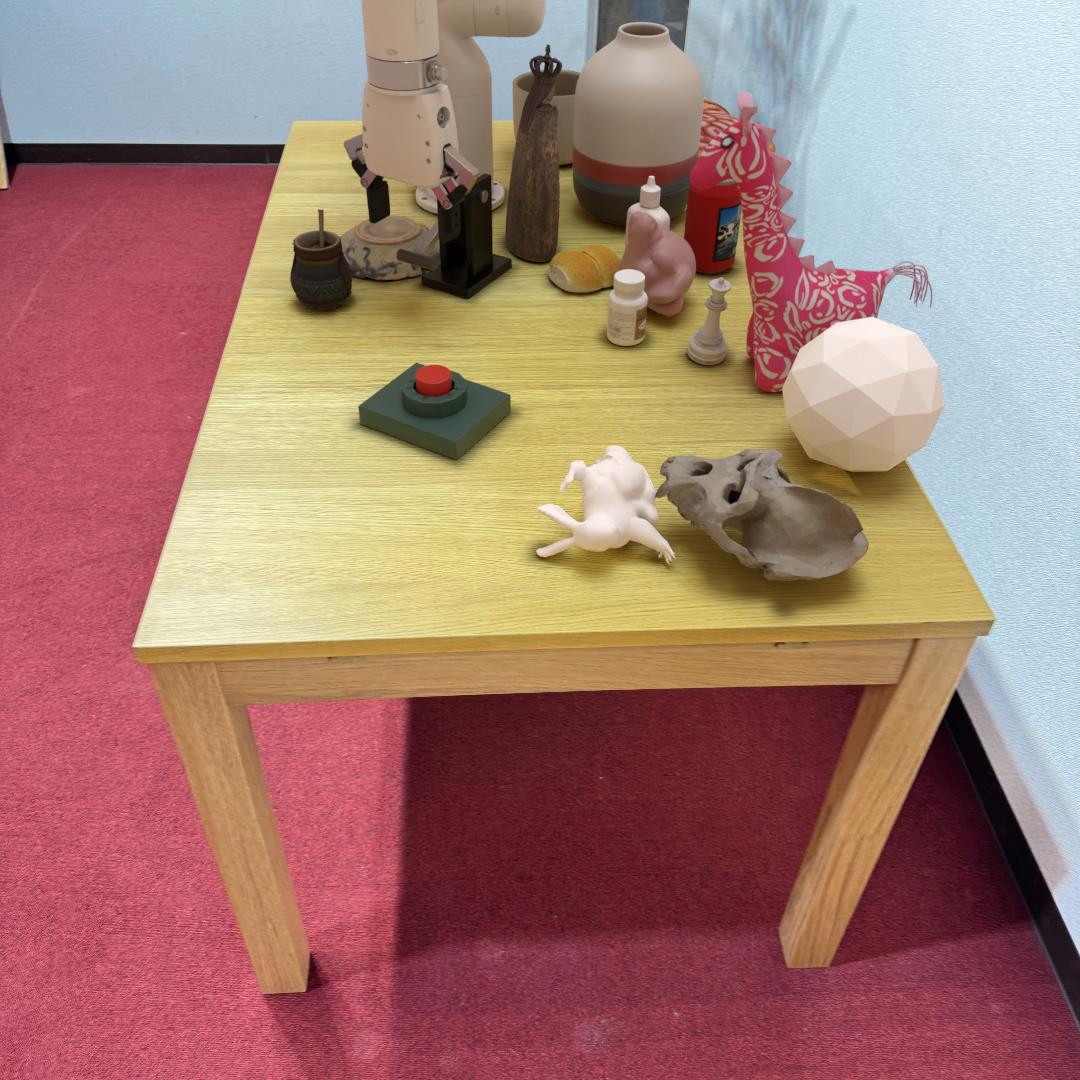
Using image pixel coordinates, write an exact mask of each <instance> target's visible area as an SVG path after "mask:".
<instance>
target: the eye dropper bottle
mask: <svg viewBox="0 0 1080 1080" xmlns="http://www.w3.org/2000/svg"><path fill="white" fill-rule="evenodd" d="M660 192H661V188H660V187H659V186H657V185H656V184H655V177H654V176H649V178H648V181H647V184H646V185H643V186H642V187H641V192H640V203H636V204H634V205H632V206H631V207H630V208H629V209H628V212H627V223H626V226H625V240H624V251H625V250H626V247H627V245H628V243H629V242H628V226H629V221H630V217H631V216H632V214H633V213H635V212H638V211H639V212H643V213H648V214H649V215H651V216H652V217H653V218H654V219H655V220H656V222H657V224H658V226H657V227H658V228H659V229H666V230H670V231H671V229H670V228H671V219H670V217H669V215H668V214H667V212H666V211H665V210H664V209H663V208H662V207H660V206H659V204H660Z"/></svg>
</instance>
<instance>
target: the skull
mask: <svg viewBox="0 0 1080 1080" xmlns="http://www.w3.org/2000/svg"><path fill="white" fill-rule="evenodd" d="M783 456H784V455H783V453H782V452H781V451H779V450H776V449H766V450H762V449H757V448H746V449H743V450H741V451H740V452H739V453H735V454H734V455H732V456H728V457H721V458H705V457H702V456H697V455H683V454H680V455H673V456H669V457H668V458H667V459H666V460H665V461H664V462H663V463H662V464H661V465H660V470H659V471H660V472H659V474H660V475H661V476H663V477H665V481H664V482H662V483H661V484H660V486H659V487H658V489H657V490H656V495H655V497H656V499H661V498H663V497H665V496H666V497H667V501H668V502H670V503H671V504H672V505H673V506H674V507H676V508H677V509H676V510H677V513H678V514H679V516H680V517H682V518H683V520H684V521H688V522H690V526H692V527H693V528H695V529H699V528H701V527H702V528H703V529H704V530H705V531H706V533H707V534H708V535H709V536H710V537H711V539H712V540H713V541H714V542H715V543H716V544H717V545H718V546H719V547H720V549H721V550H723V551H724V552H726V553H727V554H733V555H735V556H736V557H737V560H738V561H739V563H740V564H742V565H743V566H745V567H746V568H750V569H761V570H763V575H762V576H763V577H764V578H765V579H766V580H768V582H769V581H781V582H782V581H784V582H785V581H786V582H790V581H791V582H793V581H797V580H802V581H803V580H804V581H814V582H815V581H818V580H819V581H820V580H822V579H826V578H830V577H833V576H836V575H838V574H840V573H843V572H844V571H846V570H848V569H849V568H851V567H852V566H854V565H855V564H856V563H857V562H858V561H859V560H861V559H862V558H863V557H864V556H865V555H866V554H867V552H868V551H869V545H870V543H869V541H868V538H867V536H866V534H865V533H864V532H863V531H864V530H865V529H864V528H863V526H862V524H861V521H860V520H859V517H858V516H857V514H856V512H855V510H854V509H853V507H851V506H850V505H848V504H847V503H846V502H842V501H840V500H839V499H837V498H836V497H834V495H832V494H830V493H829V492H826V491H823V490H819V489H817V488H815V487H809V488H808V487H805V486H803V485H800V484H795V483H793V482H792V480H791V479H790V476H789V475H788V473H787V472H786V471H785V470H784V469H782V468H781V467H780V466H779V464H780V462H781V460H782V459H783ZM725 528H727V529H734V530H736V531H738V532H739V533H740V534H742V535H741V544H739V543H737V542H736V541H734V540H733V539H731V538H730V536H728V535H727V533H726V532H725V531H724V529H725Z"/></svg>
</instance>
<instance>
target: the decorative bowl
mask: <svg viewBox="0 0 1080 1080" xmlns="http://www.w3.org/2000/svg"><path fill="white" fill-rule="evenodd" d="M430 229H431V228H430V227H429V226H427V225H425V224H423V223H421V222H418V221H416V220H415V219H413V218H410V217H407V216H404V215H393V214H390V216H388V217H386V218H384V219H383V220H381V221H379V222H377V223H375V224H374V223H370V221H369V218H366V219H365V220H362V221H361V222H359V223H358V224H357V225H355V226H353V227H352V228H349V229H348V230H346V232H344V234H342V236H341V237H340V238H341V243H342V248H343V250H342V251H343V254H344V256H345V258H346V261H347V262H348V264H349V267H350V270H351V273H352V277H354V278H360V279H365V278H366V277H367V278H369V279H370V280H372V279H373V280H376V281H388V280H389V281H390V280H391V281H392V280H393V281H394V280H395V281H398V280H401V279H405V278H407V277H409V278H413V277H418V276H422V275H423V272H422V267H419V266H415V265H412V264H409V263H405V262H402V261H399V260H398V259H397V251H398V250H399V249H400V248H403V249H406V250H409V251H413V252H415V251H416V249H417V248H418V247H419V245H420V244H421V242H422V241H423V239H424V238H425V236H426V235H427V233H428V232H429V231H430ZM428 256H430V257H433V258H436V259H437V260H438V264H440V247H439V240H438V241H437V243H436V244H435V246H434V247H433V249H432V250H431V252H430V253H429V254H428Z"/></svg>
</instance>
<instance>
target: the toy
mask: <svg viewBox="0 0 1080 1080" xmlns="http://www.w3.org/2000/svg"><path fill="white" fill-rule="evenodd" d="M736 99H737V107H738V110H739V115H738V119H739V122H737V123H734V124H732V125H731V126H729V127H728V128H726V129H725V130H724V131H722V132H721V133H720V134H719V135H718V136H716V137H715V138H714V139H713V140H712V141H711V142H710V143H709V144H708V145H707V146H706V148H705V149H704V150H703V152H702V154H701V155H700V157H699V158H698V160H697V162H696V164H695V166H694V168H693V169H692V172H691V174H690V183H691V185H693V186H695V187H697V189H698V190H700V191H702V190H705V189H709V188H711V187H712V186H714V185H716V184H718V183H720V182H722V181H724V180H727V179H732V180H734V181H735V182H736V184H737V187H738V190H739V194H740V198H741V205H742V212H741V218H742V240H743V241H742V242H743V254H744V263H745V268H746V269H745V270H746V276H747V277H746V278H747V282H748V289H749V292H750V293H749V294H750V299H751V307H752V314H751V316H750V318H749V321H748V325H747V328H746V342H745V343H746V345H745V346H746V347H745V350H746V354H747V355H748V357H749V358H751V359H752V360H753V361H754V362H753V363H754V381H755V384H756V385H757V387H758V388H759V389H761V390H762V391H764V392H767V393H780V392H783V390H782V388H783V385H784V383H785V381H786V379H787V377H788V374H789V372H790V370H791V368H792V365H793V363H794V361H795V359H796V357H797V354H798V352H799V350H800V348H802V347H803V346H805V345H806V344H807V343H809V342H810V341H812V340H813V339H814V338H816V337H817V336H819V335H820V334H821V333H823V332H824V331H826V330H827V329H828V328H830V327H831V326H832V325H834V324H835V323H838V322H844V321H850V320H856V319H862V318H868V317H874V318H877V319H878V316H879V312H880V308H881V305H882V301H883V298H884V295H885V293H886V288H887V286H888V284H890V282H891V281H893V279H894V278H895V277H896V276H904V277H908V278H910V279H913V283H912V287H911V288H912V289H911V293H910V297H909V300H911V299H912V297H913V294H914V300H913V305H915V307H917V305H918V300H920V302H921V305H923V304H924V302H925V299H926V297H927V293H928V289H929V290H930V300H929V301H930V303H929V308H930V309H931V307H932V305H933V288H932V285H931V282H930V281H929V274H928V271H927V269H926V268H925V266H924V265H922V264H918V263H914V262H912V261H910V260H904V261H902V262H899V263H896V265H894V266H893V267H891V268H887V269H883V270H876V271H875V270H861V269H851V268H836V265H835V263H834V262H833V260H830V259H829V260H827V261H826V262H824V263H821V264H820V265H818V266H815V255H814V254H810V255H805V256H801V257H800V254H801V251H802V249H803V247H804V245H805V241H806V240H805V239H804V238H800V237H795V236H794V237H793V236H789V235H788V234H789V232H790V231H791V229H793V227H794V225H795V224H796V222H797V218H796V217H794V216H792V215H789V214H787V213H785V212H782V209H783V207H785V205H786V204H787V202H789V200H790V199H791V197H793V195H794V191H793V190H791V189H790V188H788V187H786V186H784V185H783V184H781V183H780V181H781V180H782V179H783V177H784V176H785V174H786V173H787V171H788V170H789V169H790V167H791V166H792V164H793V163H792V161H791V160H789V159H787V158H786V157H784V156H781V155H780V154H778V153H776V152H775V153H773V152H771V151H769V150H768V148H769V146H770V143H771V141H772V142H773V140H774V137H775V135H776V132H777V130H776V128H774V127H769V126H765V125H762V124H759V123H754V121H753V120H751V118H752V117H753V116H754V115H756V113H757V112H758V105H756V106H754V96H753V94H752V92H750V91H743V92H738V93H737V97H736ZM903 264H907V265H903ZM918 267H920V268H918ZM921 268H922V269H921ZM911 270H912V271H911ZM917 271H918V272H917ZM922 273H923V274H922ZM917 275H918V276H920V280H919V279H918V277H917ZM923 279H924V280H923Z"/></svg>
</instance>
